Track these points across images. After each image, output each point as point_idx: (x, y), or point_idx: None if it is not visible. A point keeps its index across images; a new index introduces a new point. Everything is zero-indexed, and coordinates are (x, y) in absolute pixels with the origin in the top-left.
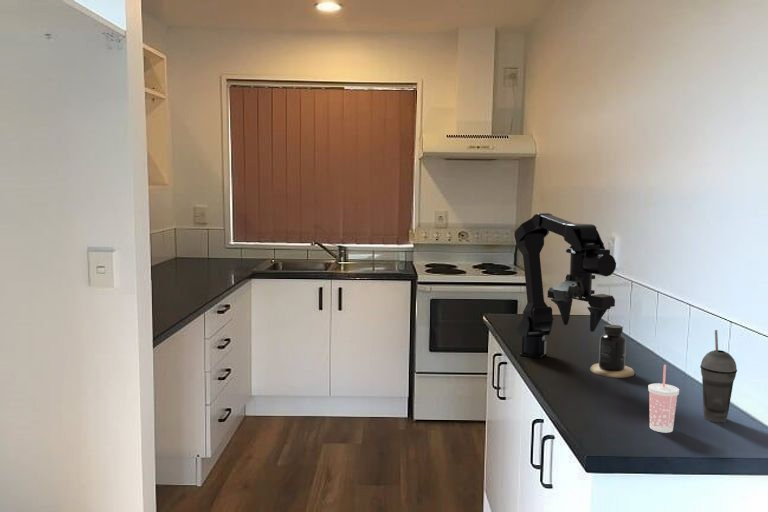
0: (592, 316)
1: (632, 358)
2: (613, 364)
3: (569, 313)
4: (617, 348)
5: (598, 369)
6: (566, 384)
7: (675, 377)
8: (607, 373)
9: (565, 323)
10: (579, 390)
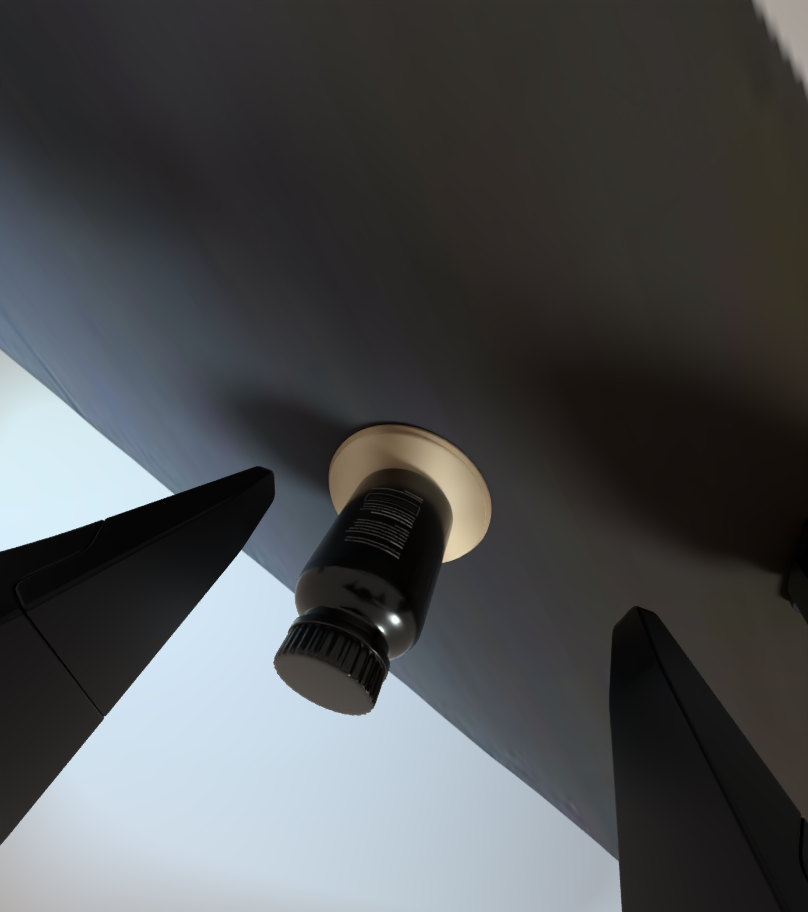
0: (34, 560)
1: (432, 645)
2: (364, 486)
3: (621, 804)
4: (320, 544)
5: (434, 466)
6: (460, 123)
7: (258, 534)
8: (379, 435)
9: (634, 625)
10: (345, 73)
